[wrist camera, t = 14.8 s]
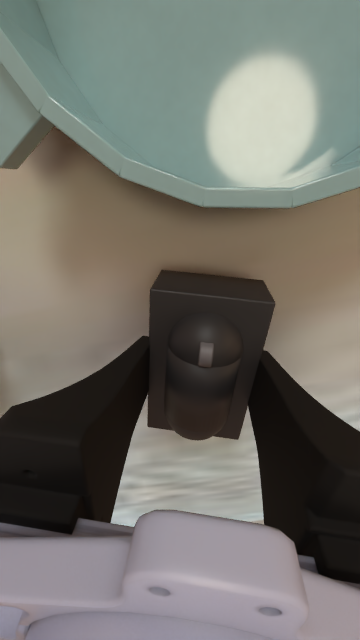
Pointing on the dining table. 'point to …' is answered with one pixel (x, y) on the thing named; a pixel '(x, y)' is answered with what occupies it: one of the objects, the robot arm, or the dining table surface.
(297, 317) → the dining table surface
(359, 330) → the dining table surface
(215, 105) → the pot
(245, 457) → the dining table surface
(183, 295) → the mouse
